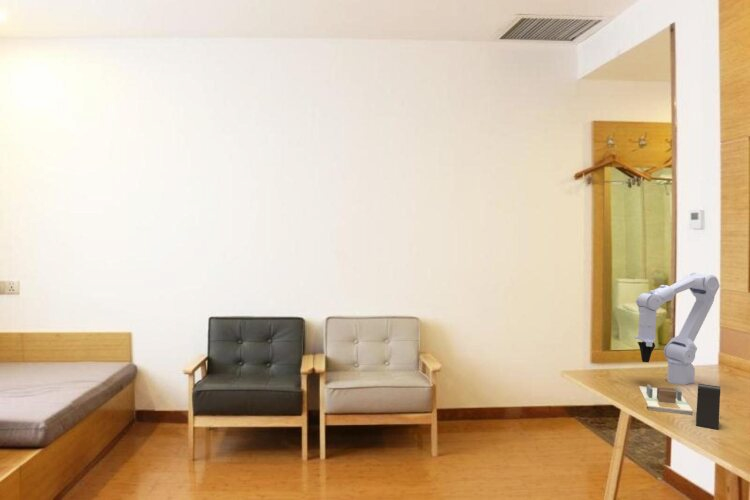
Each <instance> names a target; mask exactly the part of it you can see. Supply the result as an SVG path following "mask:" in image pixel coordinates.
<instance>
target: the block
mask: <svg viewBox="0 0 750 500" xmlns="http://www.w3.org/2000/svg"><path fill="white" fill-rule="evenodd" d="M656 388H657V399H658V401H659V402H658V403H660V402H665V403H664V404H669V403H674V404H673V405H677V404H676V391H675V387H669V386H668V387H667V386H661V385H660V386H659V385H658V386H657V387H656Z"/></svg>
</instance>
